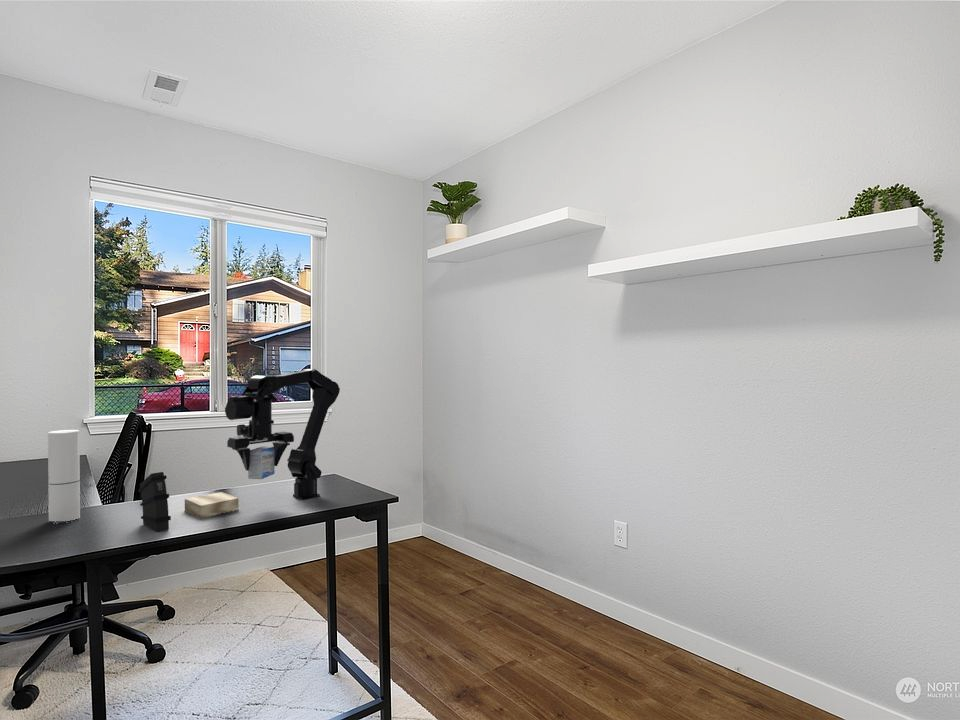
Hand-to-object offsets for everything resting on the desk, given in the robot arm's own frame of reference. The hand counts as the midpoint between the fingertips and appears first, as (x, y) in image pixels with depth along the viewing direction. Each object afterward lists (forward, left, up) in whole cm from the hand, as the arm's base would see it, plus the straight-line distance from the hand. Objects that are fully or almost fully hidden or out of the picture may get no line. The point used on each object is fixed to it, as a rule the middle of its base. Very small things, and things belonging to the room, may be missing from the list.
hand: (261, 468), depth 173 cm
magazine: (+29, -4, -12) cm, 31 cm away
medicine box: (0, 0, -3) cm, 3 cm away
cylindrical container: (+44, -29, -12) cm, 54 cm away
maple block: (+12, -8, -12) cm, 19 cm away
